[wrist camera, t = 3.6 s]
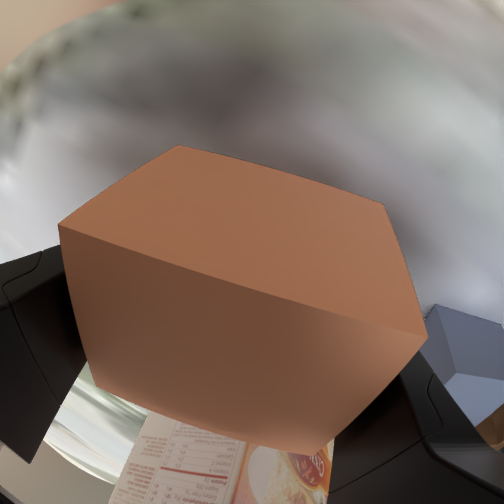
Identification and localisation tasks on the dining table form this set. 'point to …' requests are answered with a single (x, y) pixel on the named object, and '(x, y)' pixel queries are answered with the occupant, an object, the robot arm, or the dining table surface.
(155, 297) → the salmon rectangular block
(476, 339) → the blue-grey plain cube block
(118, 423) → the dining table surface
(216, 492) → the coffeecake box
